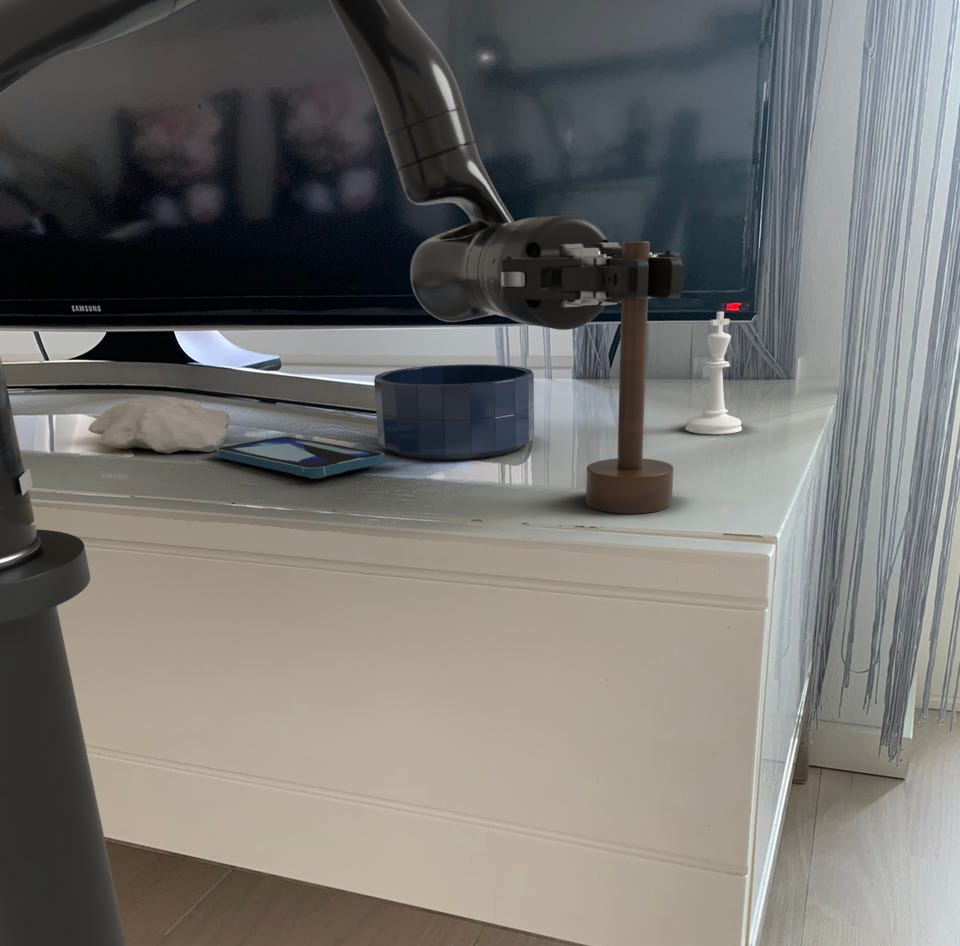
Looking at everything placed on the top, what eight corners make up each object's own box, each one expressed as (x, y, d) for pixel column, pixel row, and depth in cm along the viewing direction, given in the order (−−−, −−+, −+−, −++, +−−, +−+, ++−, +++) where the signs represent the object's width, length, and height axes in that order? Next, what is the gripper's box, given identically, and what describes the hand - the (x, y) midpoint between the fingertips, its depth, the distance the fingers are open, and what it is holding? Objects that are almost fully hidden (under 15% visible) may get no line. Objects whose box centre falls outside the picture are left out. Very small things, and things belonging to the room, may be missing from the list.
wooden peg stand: (667, 515, 62) (679, 241, 56) (579, 512, 63) (581, 243, 57) (675, 494, 67) (687, 239, 61) (593, 491, 68) (597, 242, 62)
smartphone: (285, 435, 87) (390, 453, 76) (287, 446, 87) (391, 465, 77) (210, 448, 82) (310, 469, 72) (212, 459, 82) (312, 482, 72)
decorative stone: (66, 448, 90) (177, 480, 82) (55, 407, 88) (168, 437, 80) (159, 413, 97) (269, 440, 90) (151, 375, 95) (263, 399, 88)
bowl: (513, 464, 77) (511, 386, 75) (356, 459, 80) (350, 384, 78) (547, 433, 89) (547, 364, 86) (409, 430, 92) (405, 364, 90)
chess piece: (674, 427, 89) (679, 311, 85) (719, 422, 91) (726, 308, 87) (706, 436, 85) (713, 315, 81) (753, 430, 87) (762, 311, 83)
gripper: (452, 219, 69) (551, 210, 53) (628, 214, 73) (766, 205, 58) (456, 331, 72) (551, 353, 56) (625, 320, 76) (756, 338, 60)
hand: (659, 278), depth 57 cm, fingers closed on wooden peg stand
